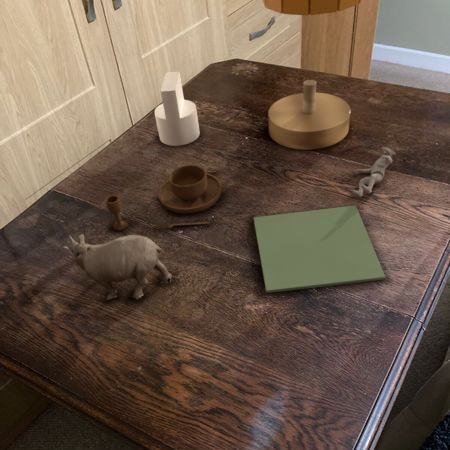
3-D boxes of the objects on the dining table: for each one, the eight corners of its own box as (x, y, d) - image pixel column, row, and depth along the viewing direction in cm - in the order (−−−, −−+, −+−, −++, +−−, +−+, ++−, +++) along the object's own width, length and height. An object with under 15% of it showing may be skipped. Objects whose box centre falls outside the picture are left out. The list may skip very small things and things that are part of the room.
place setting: (222, 224, 87) (219, 197, 82) (111, 233, 88) (102, 206, 84) (222, 169, 99) (219, 142, 94) (124, 178, 100) (116, 152, 96)
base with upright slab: (162, 126, 113) (151, 73, 104) (201, 123, 112) (193, 70, 103) (157, 147, 107) (145, 92, 98) (198, 144, 106) (190, 89, 97)
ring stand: (338, 105, 112) (342, 60, 105) (357, 144, 100) (362, 96, 93) (264, 114, 112) (262, 70, 105) (274, 154, 101) (273, 107, 93)
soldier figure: (339, 196, 91) (360, 146, 94) (358, 211, 92) (377, 161, 96) (369, 183, 84) (390, 129, 88) (389, 199, 85) (408, 146, 89)
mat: (355, 207, 86) (355, 205, 86) (385, 279, 74) (385, 277, 74) (253, 219, 87) (253, 217, 86) (266, 293, 75) (266, 290, 74)
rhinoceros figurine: (172, 300, 72) (97, 225, 66) (115, 328, 80) (43, 264, 74) (188, 267, 78) (120, 195, 71) (133, 297, 85) (68, 234, 79)
